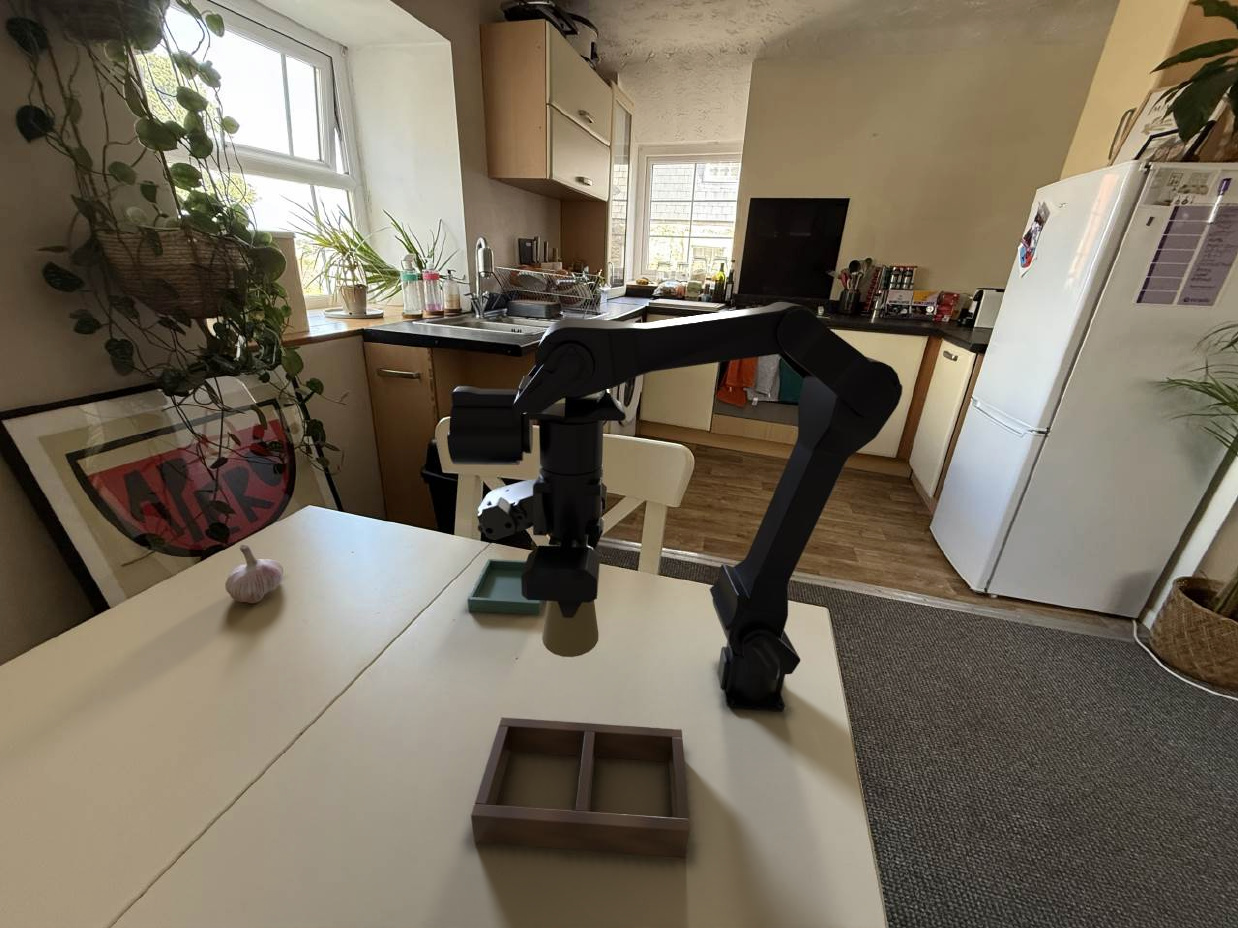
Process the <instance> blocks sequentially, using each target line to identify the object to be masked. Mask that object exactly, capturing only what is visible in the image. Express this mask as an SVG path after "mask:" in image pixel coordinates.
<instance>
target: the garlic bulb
mask: <svg viewBox="0 0 1238 928" xmlns="http://www.w3.org/2000/svg"><path fill="white" fill-rule="evenodd" d="M239 550H240V552H241V553H242V554H243V556H244V559H245V562H246V563H245V564H240V565H238V566H237V567H236V568H234V569H233V570H231V572H229V574H228V576H227V579H226V581H225V583H224V584H225V587H224V588H225V590H226V592H227V593H228V594H229V596H230V598H231V599H233V600H234V601H236V602H241V603H242V602H246V603H248V604H255V603H256V604H257V603H259V602H260V601H262V600H263V598H264V597H265V595H266V594H267V593H270V592H272V591H274V590H275V589H277V588H278V587H279V586H280V585H281V582H282V580H283V575H284V572H285V569H284V566H283V565H282V563H281V562H279V561H278V560H274V559H262V558H258V559H257V558H256V557H255V555H254V553H253V552H252V550H251V547H250V546H249V545H248V544H245V543H244V544H240V546H239Z"/></svg>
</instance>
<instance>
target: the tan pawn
mask: <svg viewBox="0 0 1238 928" xmlns="http://www.w3.org/2000/svg"><path fill="white" fill-rule="evenodd" d="M560 544H561V542H560ZM575 546H576V541H575V543H574V547H575ZM587 546H589V545H587ZM589 547H590V546H589ZM596 611H597V610H596V602H595V600H594V601H592V602H590V603H585V602H582V604H581V606H580V607H579V609H578V611H577V613H576V614H575V616H574V617H573V618H564V617H563V616H562V613H561V611H560V608H559V605H558V603H557V601H546V608H545V616H544V622H543V630H542V637H541V640H542V643H543V644H542V645H543V646H544V647H545V649H546V650H547V651H549V652H551V653H552V654H553V655H556V656H560V657H563V658H575V657H581V656H583V655H585V654H588V653H590V652H591V651H592V650H593V649H594V648H595V647H596V646H597V644H598V642H599V635H600V634H599V633H600V632H599V627H598V618H597V612H596Z"/></svg>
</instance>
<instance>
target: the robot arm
mask: <svg viewBox="0 0 1238 928" xmlns="http://www.w3.org/2000/svg"><path fill="white" fill-rule="evenodd" d="M777 355H778V356H779V358H780V359H781V360H782V361H783V362H784V363H785V364H786V365H787V366H788V367H789V368H790V369H791V370H792V371H793V372H794V373H796V374H797V375H798V376H799V377H800V378H801V379H802V380H803V383H802V387H801V390H800V395H799V399H798V404H797V439H796V441H795V444H794V446H793V449H792V451H791V453H790V455H789V457H788V460H787V462H786V465H785V467H784V469H783V471H782V474H781V476H780V478H779V481H778V483H777V486H776V488H775V490H774V492H773V495H772V497H771V499H770V501H769V504H768V506H767V509H766V511H765V513H764V516H763V518H762V521H761V522H760V525H759V526H758V529H757V532H756V534H755V536H754V539H753V541H752V544H751V545H750V548H749V550H748V551H747V554H746V556H745V558H744V559H743V560H742V561H740V562H738V563H737V564H735V565H734V566H731V565H728V564H726V563H722V564H721V565H720V567H719V571H718V576H717V579H716V581H715V583H714V584H713V585H712V586H711V587H710V588H709V593H710V595H711V598H712V605H713V608H714V610H715V613H716V616H717V619H718V622H719V623H720V626H721V629H722V632H723V633H724V636H725V639H726V646H722V647H721V648H720V654H719V662H718V669H717V676H718V681H719V687H720V690H721V691H723V694H724V700H725V705H726V706H727V707H728V708H729V709H740V710H741V709H742V710H756V711H769V712H770V711H772V712H783V711H784V710H785V708H786V704H785V701H784V698H783V695H782V691H783V687H784V683H785V677H786V675H792V674H793V673H794V672H795V670H796V669H797V668H798V666H799V664H800V663H801V661H802V660H801V657H800V656H799V654H798V652H797V650H796V648H795V647H794V645H793V644H792V642H791V640H790V638H789V636H788V635H787V632H786V631H785V628H786V625H787V620H788V618H789V583H790V580H791V578H792V576H793V574H794V572H795V569H796V567H797V566H798V563H799V562H800V560H801V557H802V555H803V553H804V551H805V548H806V547H807V545H808V543H809V540H810V538H811V536H812V534H813V532H814V530H815V528H816V526H817V524H818V522H819V520H820V518H821V516H822V513H823V511H824V509H825V507H826V505H827V503H828V501H829V499H830V497H831V494H832V493H833V490H834V489H835V486H836V484H837V482H838V480H839V478H840V476H841V474H842V471H843V469H844V467H845V466H846V463H847V461H848V460H849V459H850V458H851V456H853V455H854V454H856V453H857V452H858V451H860V450H861V449H862V448H864V447H865V446H867V445H868V444H869V443H871V442H872V441H873V440H875V439H876V438H877V437H878V435H879V434H880V432H881V431H882V430H883V428H884V427H885V425H886V424H887V422H888V421H889V420H890V418H891V417H892V416H893V414H894V412H895V411H896V410H897V407H898V405H899V404H900V402H901V398H902V396H903V390H904V389H903V388H904V387H903V384H901V381H900V378H899V375H898V373H897V371H895V369H894V368H893V367H892V366H891V365H889V364H888V363H885V362H883V361H879V360H878V359H874V358H872V357H869V356H866V355H864V354H863V353H862V352H861V351H859V350H858V349H856V348H855V347H854V346H853V345H851V344H850V343H849V342H847V340H846V339H844V338H842V337H841V336H840V335H838V334H837V333H836V332H835V331H833V330H832V329H831V328H829V327H828V326H827V325H826V324H824V323H823V321H821V319H820V318H818V316H816V314H815V313H814V312H813V310H812V309H810V308H809V307H807V306H804V305H803V304H802V305H801V304H796V303H791V302H787V301H777V302H773V303H771V304H769V305H766V306H759V307H753V308H744V309H738V310H737V309H736V310H730V311H723V312H722V311H721V312H715V313H708V314H699V315H693V316H686V317H679V318H671V319H664V320H656V321H648V322H629V321H617V320H610V319H596V318H595V319H593V318H576V317H575V318H574V317H573V318H572V317H571V318H563V319H561V320H557V321H555V322H554V323H552V324H551V325H549V327H547V328H546V330H545V332H544V333H543V335H542V337H541V339H540V342H539V344H538V347H537V350H536V354H535V357H534V359H535V360H534V361H535V365H534V366H533V368H532V369H531V370H530V372H529V373H528V374H527V375H523V376H522V379H521V382H520V384H519V386H518V389H517V388H516V389H514V388H512V389H507V388H479V387H475V386H469V385H468V386H467V385H458V386H457V387H456V388H455V389H454V390H453V391H452V392H451V394H450V395H451V409H450V415H449V427H448V428H449V431H448V433H447V435H446V443H447V450H448V454H449V459H450V461H451V463H452V464H453V465H454V466H455V465H457V466H458V465H462V466H464V465H472V466H473V465H474V466H477V465H478V466H496V465H498V466H511V465H512V466H519V465H520V464H521V462H523V461H524V454H529V455H530V454H532V452H533V447H534V441H533V440H534V422H533V421H534V420H535V421H538V431H539V432H538V440H539V442H538V443H539V471H538V477H537V478H533V479H526V480H522V481H518V482H516V483H512V484H508V485H505V486H501V487H497V488H495V489H492V490H491V491H489V492H488V493H487V494H486V495H485V496H484V498H483V500H482V501H481V503H480V505H479V506H478V508H477V515H476V518H477V520H478V525H477V531H478V532H479V533H480V534H481V533H482V534H484V535H485V537H487V539H490V540H495V541H496V540H500V539H502V538H505V537H509V536H512V535H514V534H515V533H518V532H521V531H522V532H523V531H525V530H528V529H531V528H532V535H533V536H538V537H539V536H544V537H547V536H548V534H549V535H550V537H549V540H548V545H540V544H539V545H537V547H535V548H534V549H533V550H531V551H530V552H529V553H528V555H527V557H526V560H525V561H526V563H525V566H524V569H523V572H522V575H521V588H522V596H523V597H524V598H526V599H527V600H541V601H544V602H547V601H557V603H558V605H559V608H560V611H561V613H562V616H563V617H564V618H573V617H574V616H575V614H576V613H577V611H578V609H579V607H580V606H581V604H582V602H585V603H590V602H592V601H594V602H595V600H597V599H598V593H599V592H598V591H599V581H600V566H601V565H600V564H601V562H600V559H601V557H600V556H599V555H598V554H597V553H596V550H597V549H596V548H597V547H598V544H599V542H600V541H601V537H602V535H603V533H604V527H605V526H604V525H605V519H604V518H603V517H602V516H603V515H602V514H603V513H606V510H607V498H608V497H607V495H608V486H607V485H606V484H605V483H604V482H603V477H604V464H603V453H604V452H603V450H604V422H622V421H623V422H624V421H625V420H626V417H627V415H626V412H625V409H624V405H623V403H622V402H620V401H619V400H618V399H617V398H615V397H614V395H613V394H612V392H611V390H610V389H614V388H616V387H619V386H620V385H623V384H626V383H627V382H629V381H631V380H633V379H636V378H637V377H640V376H643V375H646V374H649V373H653V372H659V371H667V370H673V369H681V368H687V367H688V368H689V367H696V366H702V365H710V364H716V363H717V364H718V363H725V362H731V361H738V360H747V359H755V358H761V357H768V356H777ZM592 395H593V396H592ZM563 399H564V402H559V401H561V400H563ZM575 541H576V546H575V547H574V543H575ZM560 542H561V544H560ZM587 545H589V546H590V547H589V546H587Z"/></svg>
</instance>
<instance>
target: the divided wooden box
mask: <svg viewBox="0 0 1238 928" xmlns="http://www.w3.org/2000/svg"><path fill="white" fill-rule="evenodd" d="M683 739H684V738H683V730H682V728H673V727H672V728H671V727H656V726H639V725H625V724H609V723H595V722H577V721H565V720H564V721H563V720H548V719H532V718H518V717H517V718H516V717H502V716H501V717H500V720H499V723H498V727H497V729H496V733H495V736H494V740H493V742H492V746H491V749H490V753H489V756H488V758H487V762H486V765H485V769H484V771H483V775H482V779H481V782H480V784H479V788H478V791H477V795H476V797H475V801H474V805H473V807H472V810H471V814H470V818H471V819H470V820H471V827H472V835H473V842H474V843H479V844H480V843H482V844H496V845H509V846H523V847H535V848H537V847H538V848H550V849H564V850H565V849H566V850H579V851H592V852H607V853H619V854H620V853H623V854H634V855H649V856H660V857H661V856H662V857H677V858H687V855H688V850H689V849H688V848H689V841H690V834H691V825H690V815H689V814H690V813H689V812H690V811H689V801H688V789H687V787H688V786H687V776H686V765H685V752H684V740H683ZM511 752H520V753H521V752H522V753H533V754H534V753H535V754H537V753H538V754H550V755H551V754H552V755H564V756H580V757H581V760H580V769H579V777H578V785H577V795H576V801H575V809H574V810H568V809H567V810H566V809H552V808H539V807H538V808H536V807H523V806H511V805H497V801H498V798H499V794H500V791H501V788H502V787H501V786H502V783H503V779H504V775H505V772H506V768H507V764H508V761H509V757H510V754H511ZM595 758H611V759H625V760H641V761H655V762H669V774H670V775H669V778H670V779H669V780H670V795H671V797H670V799H671V815H672V816H671V817H669V816H668V817H667V816H655V815H653V816H652V815H641V814H640V815H639V814H625V813H624V814H623V813H611V812H610V813H609V812H595V811H590V809H591V796H592V788H593V779H594V778H593V776H594V767H595Z"/></svg>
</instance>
